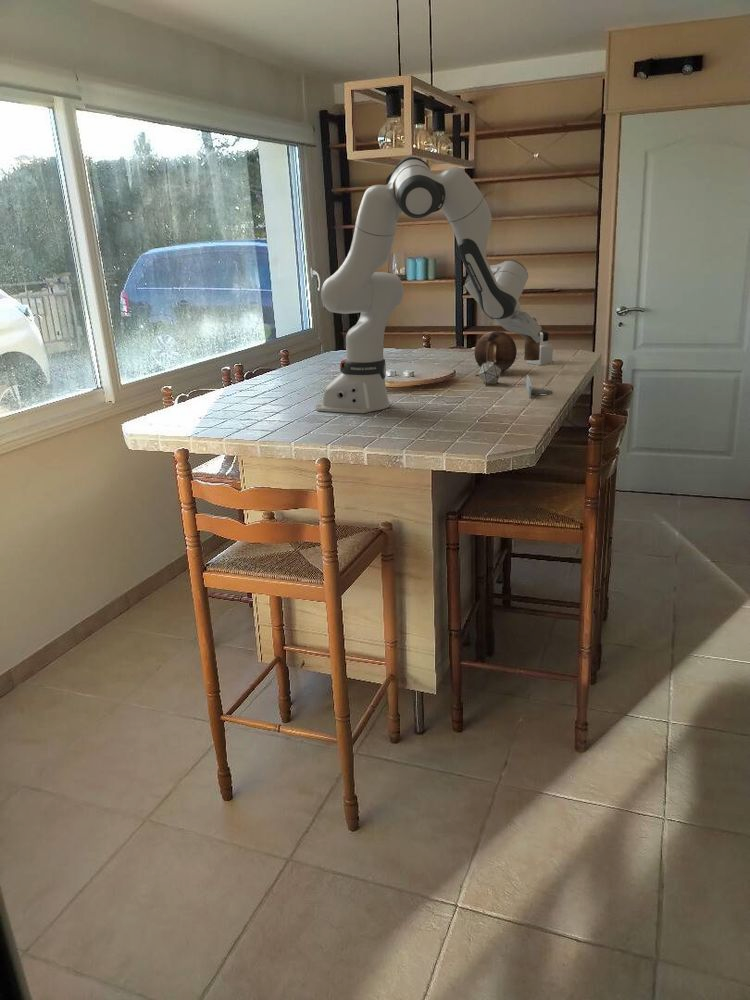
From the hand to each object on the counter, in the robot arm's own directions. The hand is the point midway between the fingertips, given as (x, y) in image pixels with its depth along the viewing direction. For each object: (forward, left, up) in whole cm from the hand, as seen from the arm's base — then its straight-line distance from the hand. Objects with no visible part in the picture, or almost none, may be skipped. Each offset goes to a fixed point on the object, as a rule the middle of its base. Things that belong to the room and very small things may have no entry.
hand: (534, 340), depth 236 cm
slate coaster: (+3, +1, -17) cm, 17 cm away
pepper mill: (0, 0, -6) cm, 6 cm away
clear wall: (-1, +1, -17) cm, 17 cm away
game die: (-13, +15, -17) cm, 26 cm away
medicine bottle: (+6, +56, -17) cm, 59 cm away
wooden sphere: (-11, +36, -17) cm, 41 cm away
